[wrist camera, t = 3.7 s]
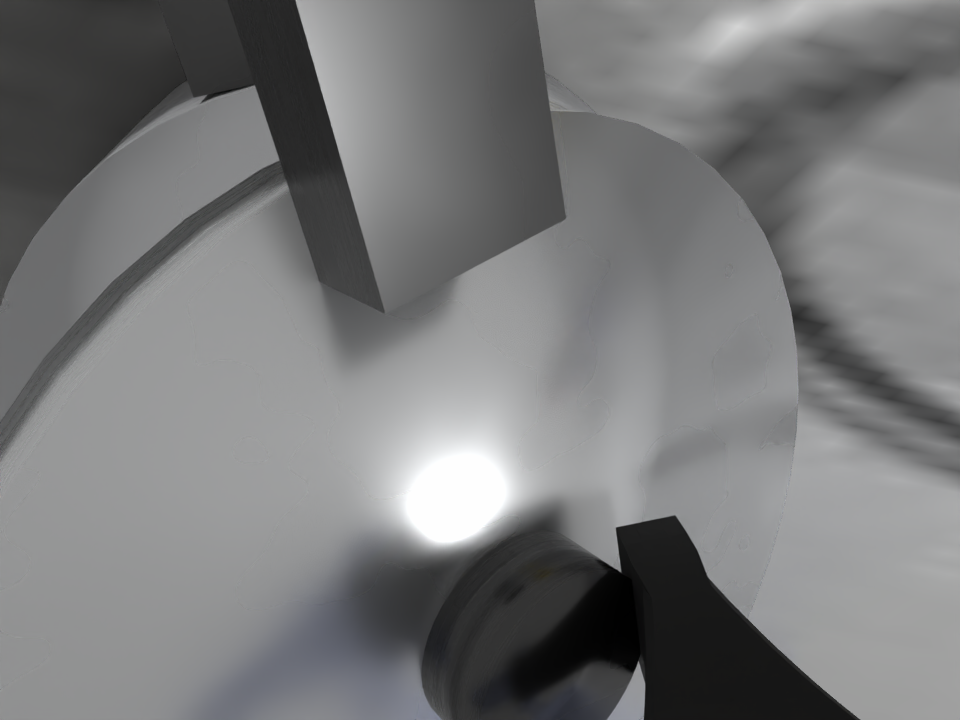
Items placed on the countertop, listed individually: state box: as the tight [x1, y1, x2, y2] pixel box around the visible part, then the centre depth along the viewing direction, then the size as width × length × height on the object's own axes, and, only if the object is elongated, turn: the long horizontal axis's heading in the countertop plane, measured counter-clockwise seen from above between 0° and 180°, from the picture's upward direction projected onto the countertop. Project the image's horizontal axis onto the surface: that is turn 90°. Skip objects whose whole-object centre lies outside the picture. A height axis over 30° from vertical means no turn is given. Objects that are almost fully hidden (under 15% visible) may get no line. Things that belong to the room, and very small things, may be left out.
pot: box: [0, 0, 596, 421], centre depth 16 cm, size 22×14×5 cm, turn 11°
